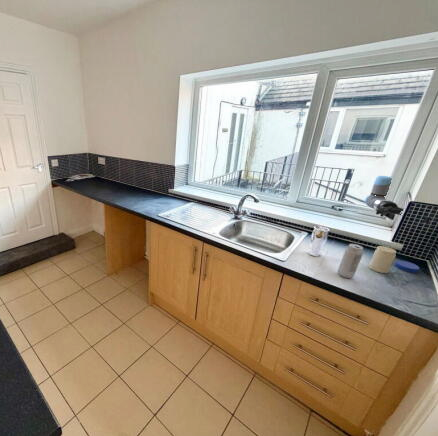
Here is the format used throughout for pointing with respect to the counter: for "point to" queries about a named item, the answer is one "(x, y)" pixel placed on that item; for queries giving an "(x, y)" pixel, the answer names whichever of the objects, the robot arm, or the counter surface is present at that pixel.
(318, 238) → the beer glass
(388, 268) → the jam jar
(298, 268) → the counter surface
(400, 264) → the jar lid
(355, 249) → the energy drink can
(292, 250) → the counter surface
